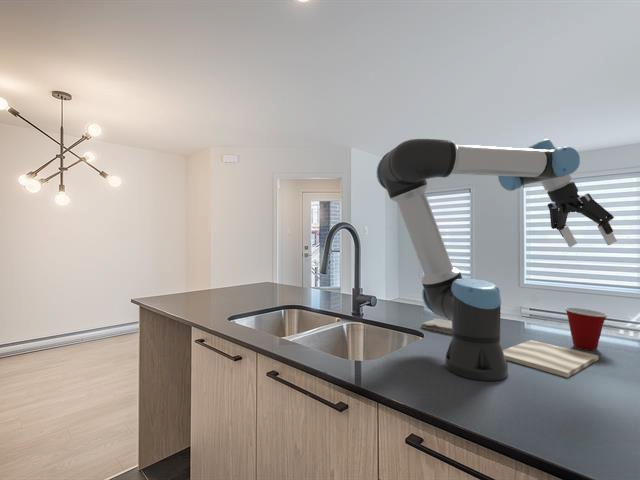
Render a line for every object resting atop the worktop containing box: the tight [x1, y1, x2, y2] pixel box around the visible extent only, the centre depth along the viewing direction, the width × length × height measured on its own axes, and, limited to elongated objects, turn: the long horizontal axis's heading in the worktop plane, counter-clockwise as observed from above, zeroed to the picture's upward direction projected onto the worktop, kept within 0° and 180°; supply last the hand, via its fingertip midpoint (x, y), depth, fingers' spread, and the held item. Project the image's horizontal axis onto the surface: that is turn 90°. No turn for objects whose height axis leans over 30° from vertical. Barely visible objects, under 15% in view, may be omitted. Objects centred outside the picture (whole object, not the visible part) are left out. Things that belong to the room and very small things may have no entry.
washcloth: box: [420, 318, 452, 335], centre depth 128 cm, size 12×18×3 cm, turn 44°
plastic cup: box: [564, 307, 609, 351], centre depth 107 cm, size 11×11×12 cm
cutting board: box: [502, 339, 600, 378], centre depth 97 cm, size 22×18×1 cm
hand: (591, 244), depth 106 cm, fingers open, 13 cm apart
